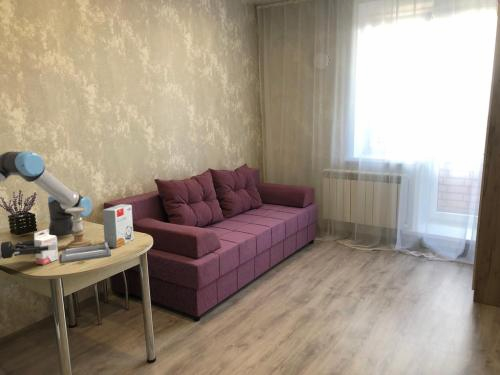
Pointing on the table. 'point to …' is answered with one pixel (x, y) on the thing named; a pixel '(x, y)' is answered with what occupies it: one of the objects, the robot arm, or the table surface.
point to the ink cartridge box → (45, 240)
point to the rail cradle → (86, 253)
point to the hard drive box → (118, 225)
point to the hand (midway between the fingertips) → (56, 243)
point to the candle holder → (77, 228)
